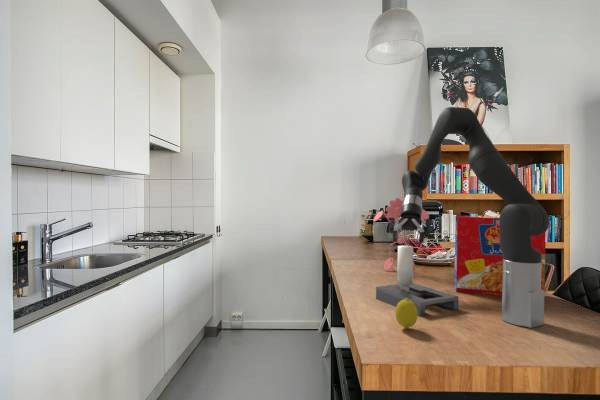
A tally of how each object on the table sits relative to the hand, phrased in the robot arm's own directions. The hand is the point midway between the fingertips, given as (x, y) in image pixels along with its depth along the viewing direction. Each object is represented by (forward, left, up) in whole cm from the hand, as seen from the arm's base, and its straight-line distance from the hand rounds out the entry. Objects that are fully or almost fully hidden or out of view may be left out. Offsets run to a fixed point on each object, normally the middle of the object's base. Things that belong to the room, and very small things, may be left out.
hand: (407, 241), depth 127 cm
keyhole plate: (-10, +6, -19) cm, 22 cm away
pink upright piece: (+30, -23, -19) cm, 43 cm away
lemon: (-26, +25, -19) cm, 40 cm away
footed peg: (-5, +5, -19) cm, 20 cm away
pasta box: (-12, -33, -19) cm, 40 cm away
